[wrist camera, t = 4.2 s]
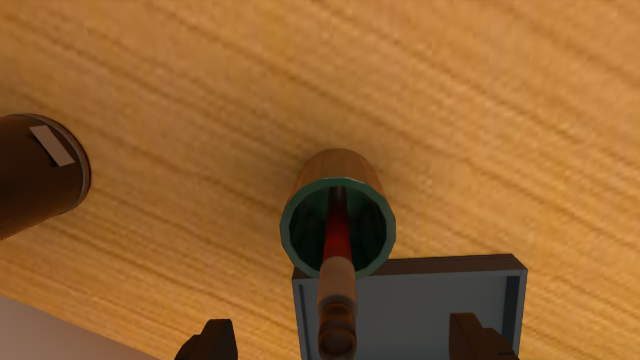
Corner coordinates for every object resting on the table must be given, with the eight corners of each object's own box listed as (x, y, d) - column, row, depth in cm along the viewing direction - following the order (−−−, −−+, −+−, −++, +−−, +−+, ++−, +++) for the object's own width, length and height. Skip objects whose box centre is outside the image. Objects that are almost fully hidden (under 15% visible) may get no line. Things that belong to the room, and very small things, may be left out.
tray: (307, 364, 34) (304, 385, 32) (295, 263, 31) (291, 279, 28) (502, 359, 33) (515, 382, 30) (512, 253, 29) (528, 269, 27)
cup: (301, 227, 30) (286, 284, 21) (293, 151, 28) (273, 181, 19) (379, 223, 29) (396, 280, 21) (376, 145, 27) (394, 173, 19)
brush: (328, 200, 28) (314, 381, 11) (327, 182, 28) (309, 340, 10) (347, 199, 28) (363, 380, 11) (346, 181, 28) (361, 339, 10)
